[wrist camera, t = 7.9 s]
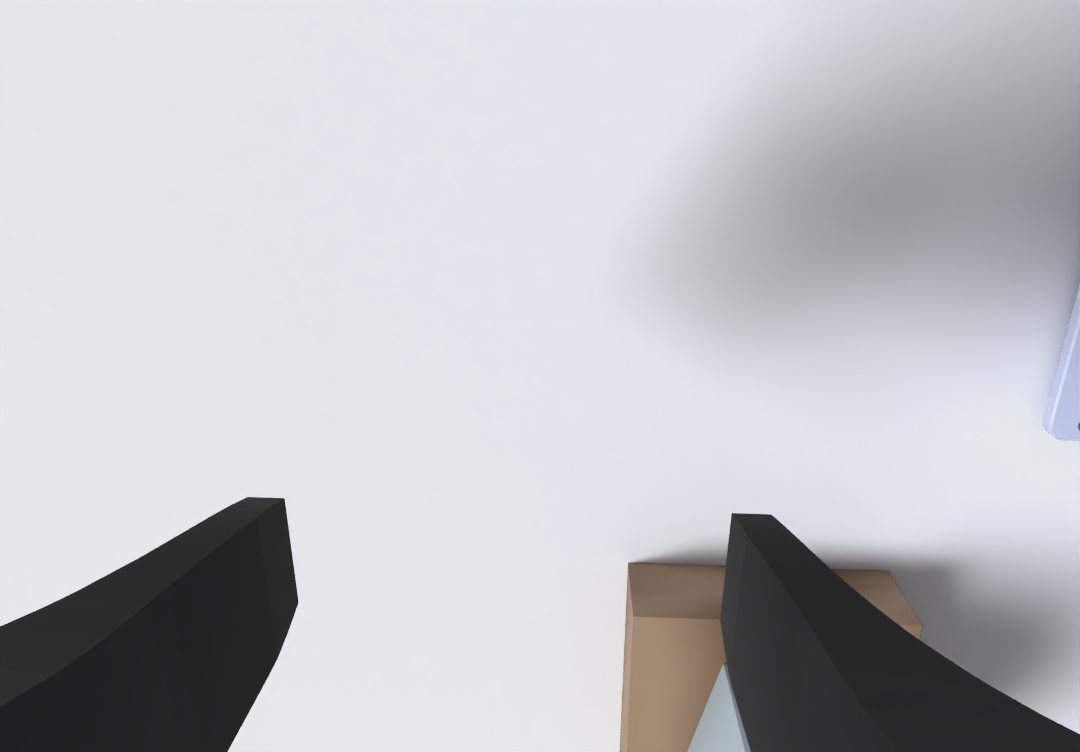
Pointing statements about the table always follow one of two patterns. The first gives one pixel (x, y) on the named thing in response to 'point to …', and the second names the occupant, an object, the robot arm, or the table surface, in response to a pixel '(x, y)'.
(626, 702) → the walnut base
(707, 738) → the grey block
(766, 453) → the table surface
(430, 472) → the table surface
